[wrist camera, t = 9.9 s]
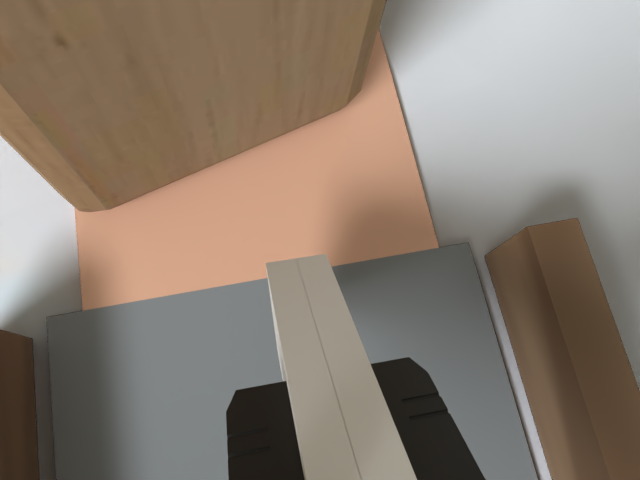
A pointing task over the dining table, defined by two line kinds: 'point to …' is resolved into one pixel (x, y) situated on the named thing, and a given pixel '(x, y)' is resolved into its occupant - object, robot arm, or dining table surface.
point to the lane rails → (528, 346)
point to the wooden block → (169, 84)
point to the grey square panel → (266, 367)
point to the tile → (268, 207)
